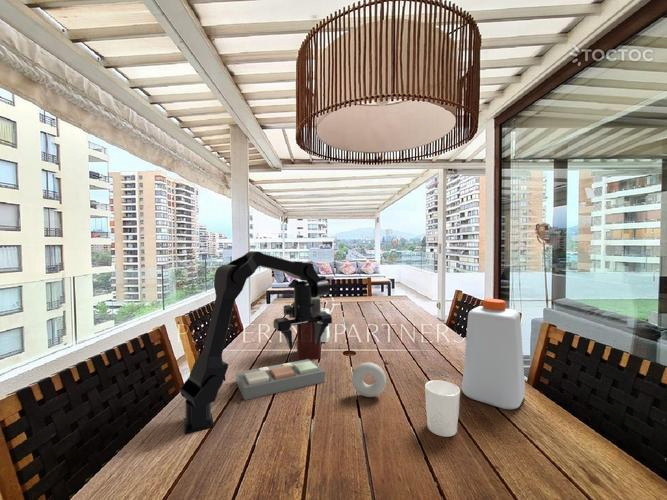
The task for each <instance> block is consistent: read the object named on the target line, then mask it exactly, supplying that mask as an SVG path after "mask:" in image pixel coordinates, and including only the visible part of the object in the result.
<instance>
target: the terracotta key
mask: <svg viewBox="0 0 667 500" xmlns="http://www.w3.org/2000/svg"><path fill="white" fill-rule="evenodd" d="M270 374H271V375H272V377H273V378H274V379H275V380H277V379H282V378H286V377H291V376H294V371H293V370H292V369H291V368H290V367H289V366H288V365H287V366H282V367H277V368H271V369H270Z"/></svg>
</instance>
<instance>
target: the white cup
mask: <svg viewBox="0 0 667 500" xmlns="http://www.w3.org/2000/svg"><path fill="white" fill-rule="evenodd" d="M424 389H425V390H424V392H425V410H426V411H425V412H426V418H427V419H426V420H427V421H426V424H427V429H428V430H429V432H431V433H433V434H435V435H437V436H439V437H443V438H444V437H445V438H446V437H447V438H449V437H452V436H456V434H457V433H458V421H459V412H460V400H461V399H460V396H461V389H460V388H459V387H458V385H456V384H455V383H452V382H450V381H446V380H439V379H437V380H436V379H435V380H429V381H427V382H425V385H424Z"/></svg>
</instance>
